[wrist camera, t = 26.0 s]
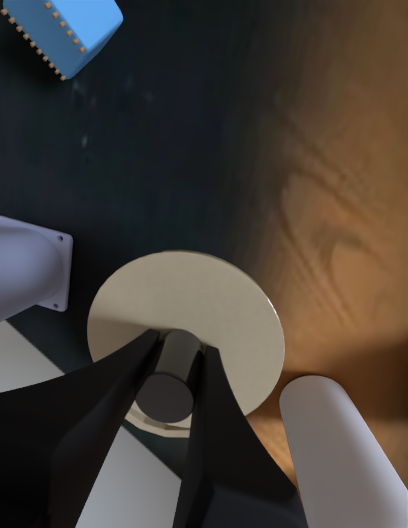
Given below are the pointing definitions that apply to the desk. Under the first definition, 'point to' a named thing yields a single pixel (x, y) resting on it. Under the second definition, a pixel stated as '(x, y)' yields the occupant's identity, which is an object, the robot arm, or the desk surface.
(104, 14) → the building blocks
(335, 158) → the desk surface
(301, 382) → the can
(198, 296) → the pot lid
